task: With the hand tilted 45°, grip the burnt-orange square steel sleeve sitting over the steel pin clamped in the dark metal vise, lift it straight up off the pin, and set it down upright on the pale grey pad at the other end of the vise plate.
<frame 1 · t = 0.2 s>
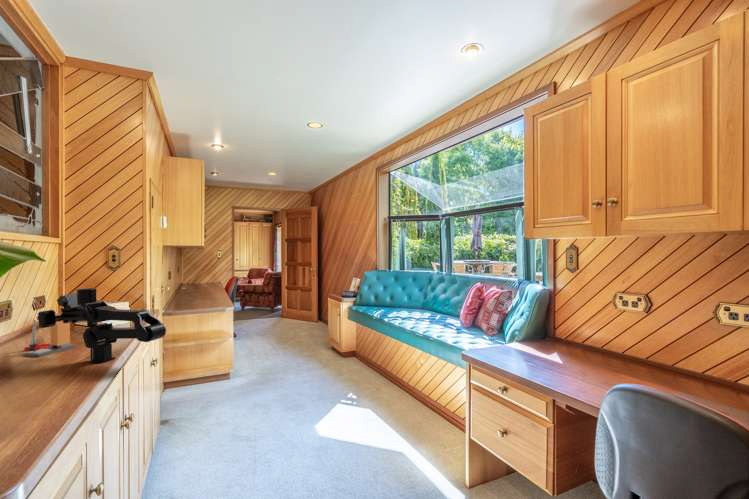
hand: (50, 315, 142), 17 cm above the counter, tool horizontal, fingers open, 9 cm apart
orange sleeve: (60, 344, 153), point 2 cm above the counter, touching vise
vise: (50, 351, 149), on the counter
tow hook: (41, 348, 155), on the counter
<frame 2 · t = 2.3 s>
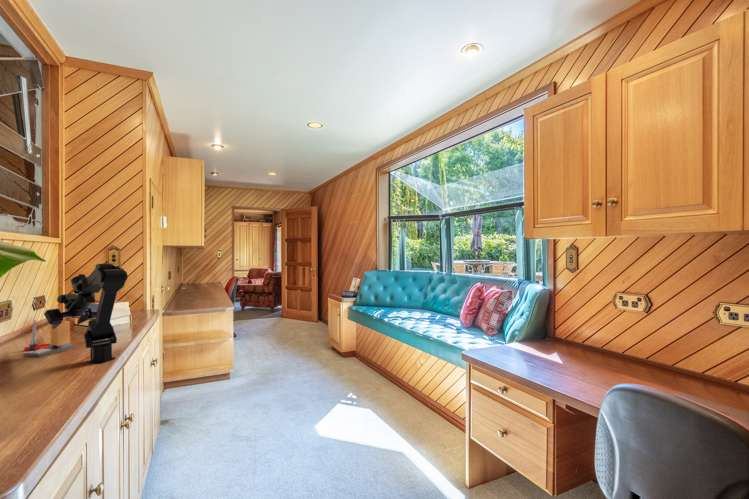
hand: (65, 325, 152), 10 cm above the counter, tool tilted 45°, fingers open, 9 cm apart
nothing on the counter moved.
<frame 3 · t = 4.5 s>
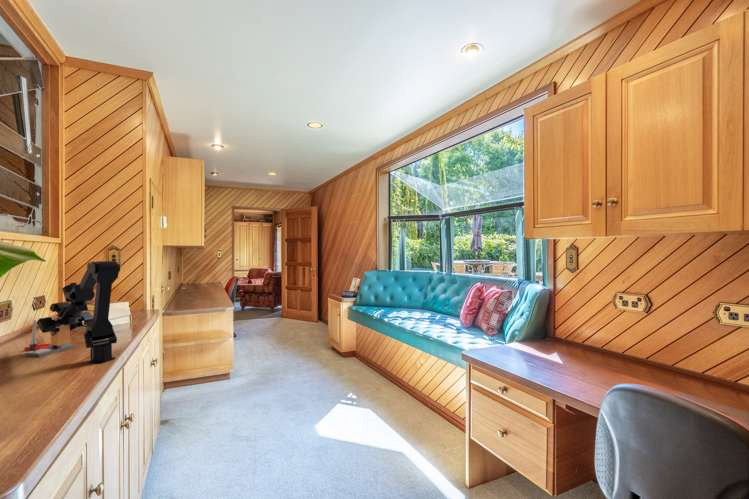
hand: (58, 333, 153), 7 cm above the counter, tool tilted 45°, fingers closed on orange sleeve, 5 cm apart
orange sleeve: (60, 344, 153), point 2 cm above the counter, touching gripper, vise
everything else where it was.
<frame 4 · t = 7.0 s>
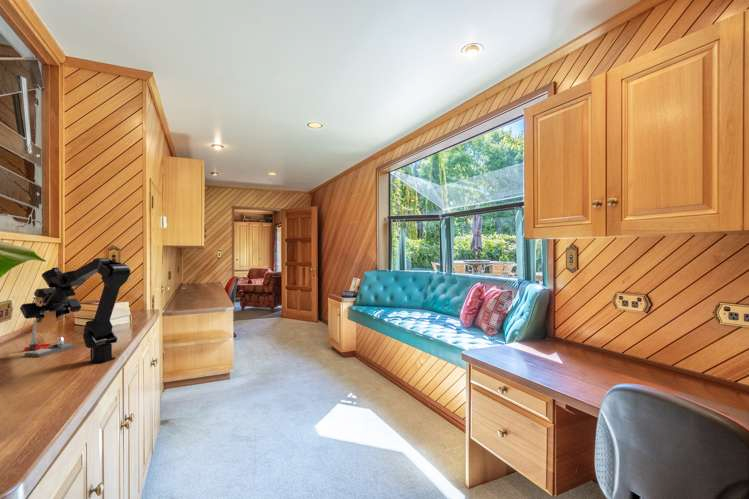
hand: (44, 320, 148), 13 cm above the counter, tool tilted 45°, fingers closed on orange sleeve, 5 cm apart
orange sleeve: (46, 331, 147), point 9 cm above the counter, touching gripper
everything else where it was.
when the fingers open (7 cm above the counter, at t = 9.5 s): orange sleeve drops 1 cm, resting on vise.
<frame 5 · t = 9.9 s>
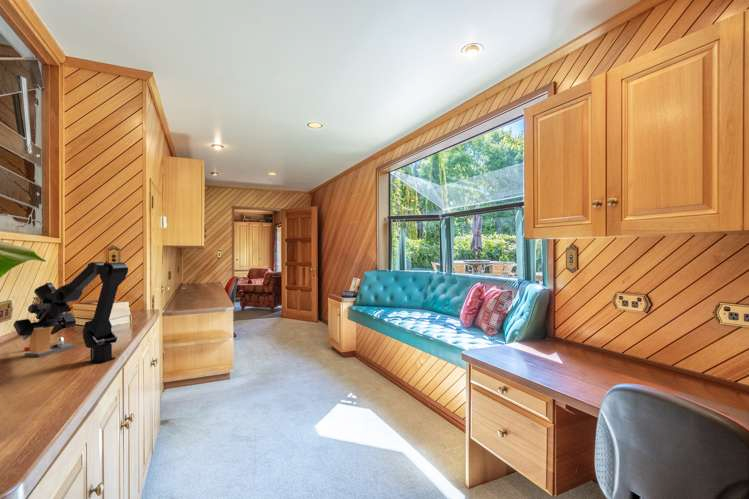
hand: (37, 336, 146), 7 cm above the counter, tool tilted 45°, fingers open, 9 cm apart
orange sleeve: (39, 350, 145), point 1 cm above the counter, touching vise
everything else where it was.
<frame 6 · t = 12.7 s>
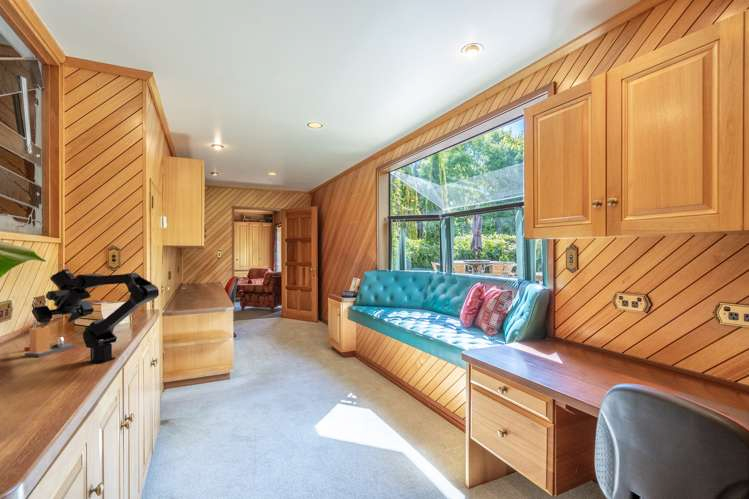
hand: (55, 324, 142), 13 cm above the counter, tool tilted 45°, fingers open, 9 cm apart
nothing on the counter moved.
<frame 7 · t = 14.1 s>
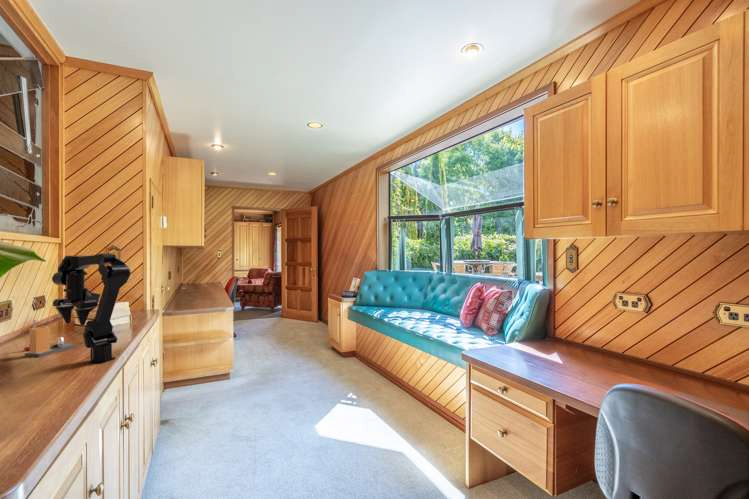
hand: (75, 324, 143), 13 cm above the counter, tool pointing down, fingers open, 9 cm apart
nothing on the counter moved.
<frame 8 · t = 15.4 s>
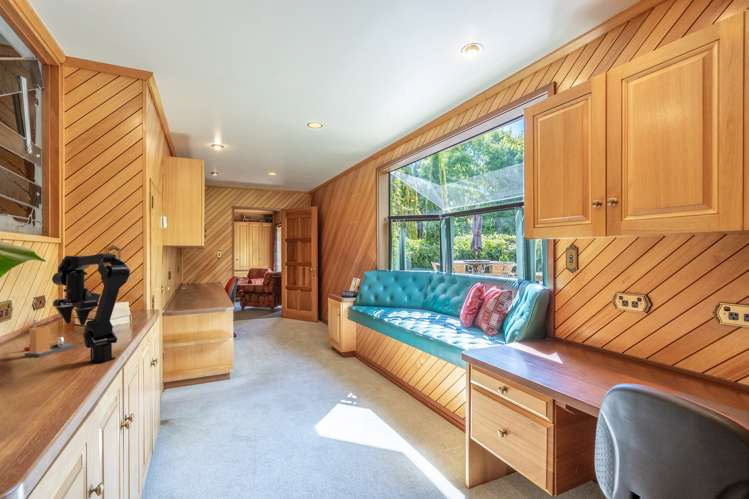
hand: (75, 324, 143), 13 cm above the counter, tool pointing down, fingers open, 9 cm apart
nothing on the counter moved.
at the end: orange sleeve 0.6 cm from the target spot on the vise, point 1.5 cm above the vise's base; orange sleeve tilted 0°; the gripper is holding nothing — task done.
